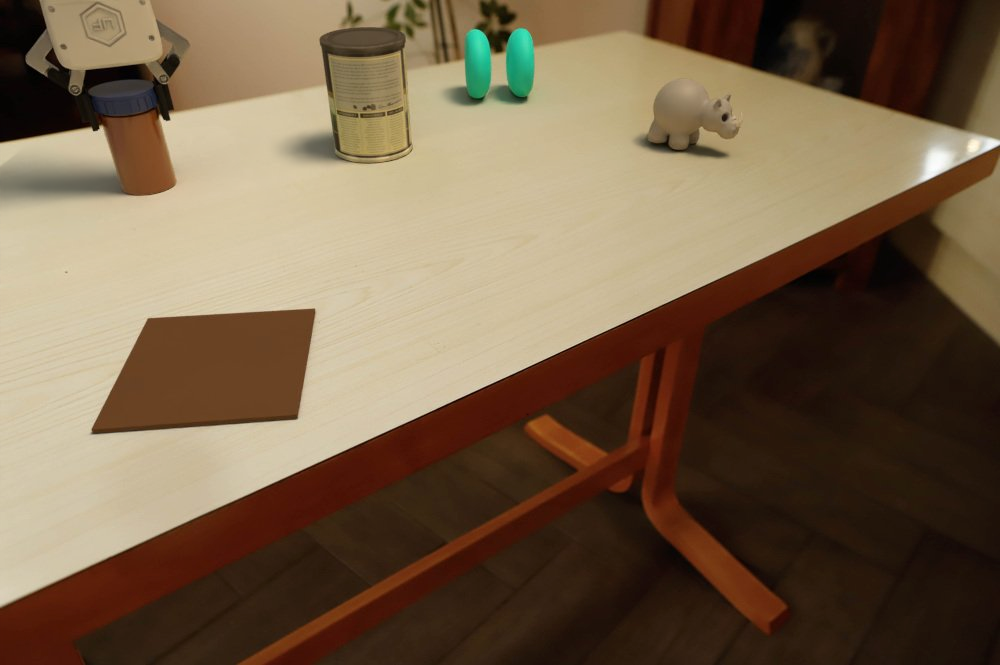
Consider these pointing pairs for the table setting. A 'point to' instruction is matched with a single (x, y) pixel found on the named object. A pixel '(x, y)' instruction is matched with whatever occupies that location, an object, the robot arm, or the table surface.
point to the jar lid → (123, 97)
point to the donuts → (516, 63)
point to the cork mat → (211, 371)
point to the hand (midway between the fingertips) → (131, 121)
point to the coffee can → (367, 93)
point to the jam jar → (139, 152)
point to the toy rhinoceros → (690, 114)
